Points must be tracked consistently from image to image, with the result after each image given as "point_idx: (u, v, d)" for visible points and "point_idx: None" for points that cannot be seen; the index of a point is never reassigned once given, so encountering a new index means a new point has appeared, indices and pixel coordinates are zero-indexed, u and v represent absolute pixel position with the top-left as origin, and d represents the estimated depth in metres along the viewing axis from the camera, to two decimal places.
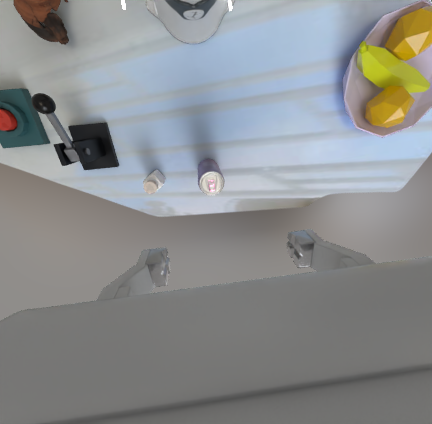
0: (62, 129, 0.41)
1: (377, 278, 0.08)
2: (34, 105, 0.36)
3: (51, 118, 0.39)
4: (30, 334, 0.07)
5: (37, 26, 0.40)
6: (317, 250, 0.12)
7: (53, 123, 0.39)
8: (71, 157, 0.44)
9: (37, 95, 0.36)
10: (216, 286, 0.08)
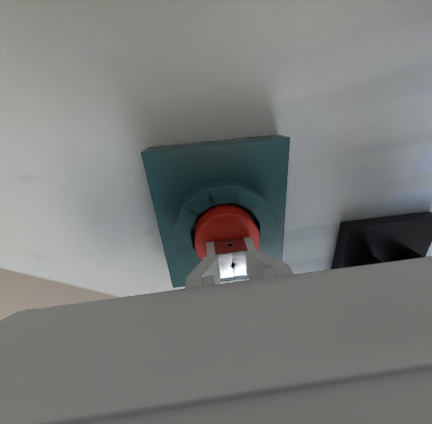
0: None
1: (377, 278, 0.08)
2: None
3: None
4: (30, 334, 0.07)
5: None
6: (249, 259, 0.12)
7: None
8: None
9: None
10: (216, 286, 0.08)
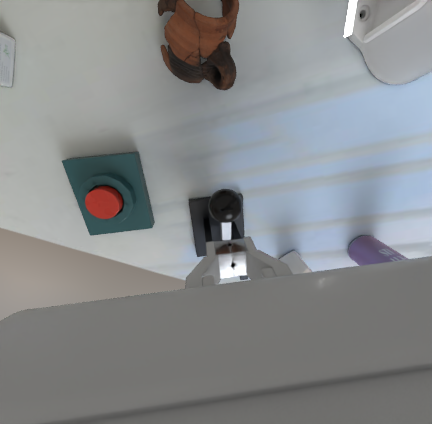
0: None
1: (377, 278, 0.08)
2: (219, 215, 0.19)
3: (226, 225, 0.22)
4: (30, 334, 0.07)
5: (192, 63, 0.23)
6: (249, 259, 0.12)
7: (225, 231, 0.22)
8: None
9: (228, 197, 0.19)
10: (216, 286, 0.08)
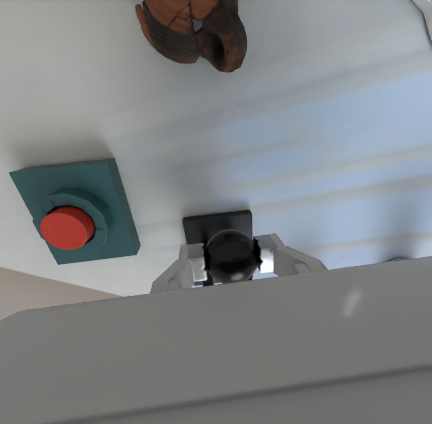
0: None
1: (377, 278, 0.08)
2: (221, 277, 0.12)
3: None
4: (30, 334, 0.07)
5: (180, 31, 0.16)
6: (277, 255, 0.12)
7: None
8: None
9: (235, 249, 0.11)
10: (216, 286, 0.08)
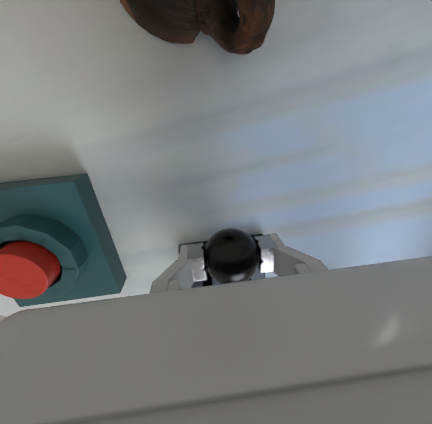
0: None
1: (377, 278, 0.08)
2: (220, 264, 0.11)
3: None
4: (30, 334, 0.07)
5: None
6: (277, 255, 0.12)
7: None
8: None
9: (233, 234, 0.12)
10: (216, 286, 0.08)
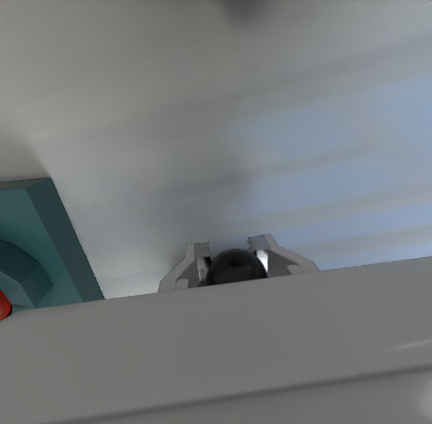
0: None
1: (377, 278, 0.08)
2: (223, 283, 0.10)
3: None
4: (30, 334, 0.07)
5: None
6: (271, 256, 0.12)
7: None
8: None
9: (237, 251, 0.11)
10: (216, 286, 0.08)
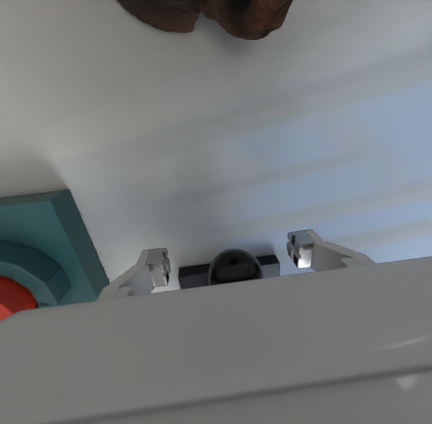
0: None
1: (377, 278, 0.08)
2: (223, 278, 0.11)
3: None
4: (30, 334, 0.07)
5: None
6: (317, 250, 0.12)
7: None
8: None
9: (235, 251, 0.12)
10: (216, 286, 0.08)
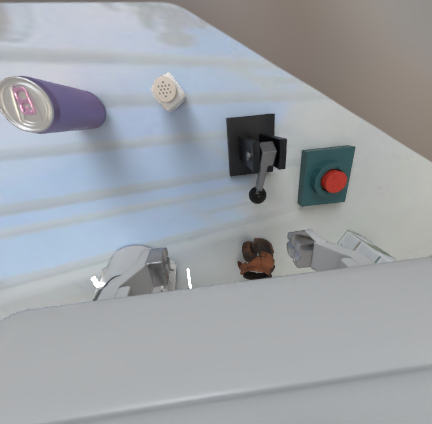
0: (258, 178, 0.36)
1: (377, 278, 0.08)
2: (262, 201, 0.39)
3: (259, 188, 0.38)
4: (30, 334, 0.07)
5: (263, 252, 0.47)
6: (317, 250, 0.12)
7: (261, 185, 0.37)
8: (271, 157, 0.31)
9: None
10: (216, 286, 0.08)
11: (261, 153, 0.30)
